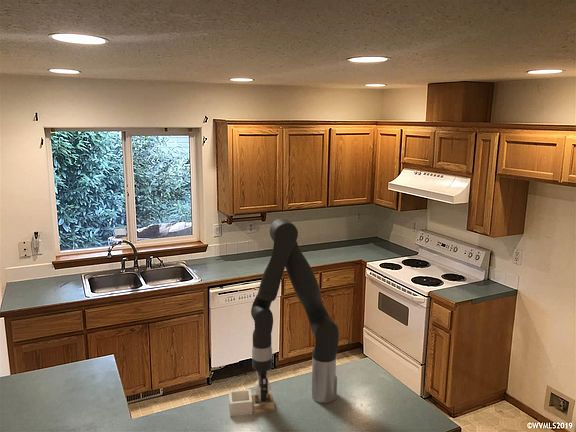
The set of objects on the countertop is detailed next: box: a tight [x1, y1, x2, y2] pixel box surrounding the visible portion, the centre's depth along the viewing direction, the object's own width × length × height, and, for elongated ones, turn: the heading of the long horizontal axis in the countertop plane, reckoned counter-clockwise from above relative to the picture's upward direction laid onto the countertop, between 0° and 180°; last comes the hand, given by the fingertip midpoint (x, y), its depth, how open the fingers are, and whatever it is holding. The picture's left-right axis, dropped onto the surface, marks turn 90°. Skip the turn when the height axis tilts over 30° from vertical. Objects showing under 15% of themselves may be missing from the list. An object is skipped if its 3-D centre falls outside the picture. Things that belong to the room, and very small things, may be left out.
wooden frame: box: [251, 391, 276, 414], centre depth 176 cm, size 8×8×3 cm
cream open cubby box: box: [228, 388, 254, 417], centre depth 174 cm, size 8×8×5 cm
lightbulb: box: [253, 379, 272, 404], centre depth 175 cm, size 6×6×11 cm
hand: (262, 394), depth 175 cm, fingers open, 8 cm apart
